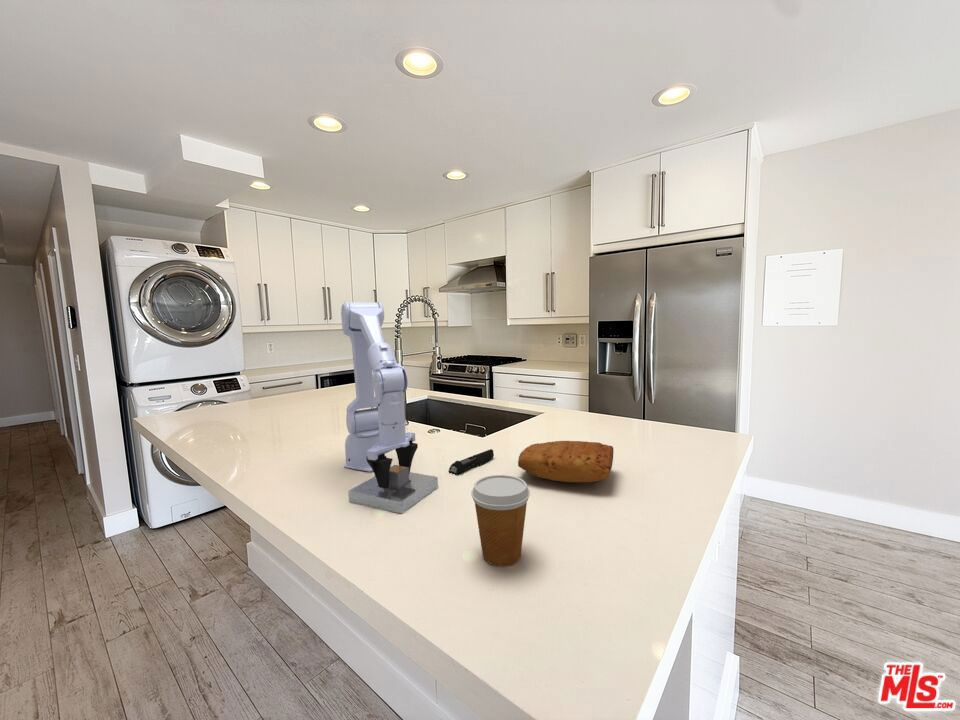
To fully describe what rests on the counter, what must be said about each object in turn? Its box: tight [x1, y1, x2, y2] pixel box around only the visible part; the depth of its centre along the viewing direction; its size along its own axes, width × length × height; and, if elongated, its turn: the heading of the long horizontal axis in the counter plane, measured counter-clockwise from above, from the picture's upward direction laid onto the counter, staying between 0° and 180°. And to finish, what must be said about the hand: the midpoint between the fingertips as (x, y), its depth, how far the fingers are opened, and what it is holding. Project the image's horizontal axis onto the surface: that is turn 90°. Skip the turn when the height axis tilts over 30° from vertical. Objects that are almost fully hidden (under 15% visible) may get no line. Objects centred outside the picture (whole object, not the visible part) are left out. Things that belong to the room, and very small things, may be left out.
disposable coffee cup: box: [471, 474, 531, 567], centre depth 65 cm, size 10×10×12 cm
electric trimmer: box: [448, 448, 495, 476], centre depth 107 cm, size 4×16×3 cm, turn 138°
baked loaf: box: [517, 440, 614, 483], centre depth 97 cm, size 22×17×8 cm
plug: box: [388, 464, 409, 490], centre depth 89 cm, size 4×4×6 cm
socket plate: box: [348, 471, 439, 515], centre depth 90 cm, size 14×14×3 cm
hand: (394, 480), depth 90 cm, fingers open, 7 cm apart
